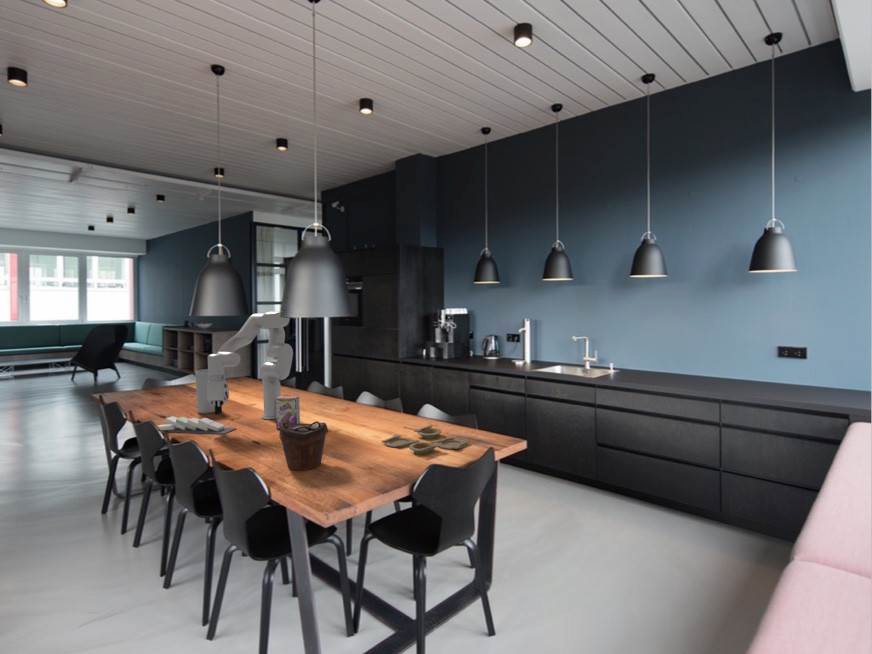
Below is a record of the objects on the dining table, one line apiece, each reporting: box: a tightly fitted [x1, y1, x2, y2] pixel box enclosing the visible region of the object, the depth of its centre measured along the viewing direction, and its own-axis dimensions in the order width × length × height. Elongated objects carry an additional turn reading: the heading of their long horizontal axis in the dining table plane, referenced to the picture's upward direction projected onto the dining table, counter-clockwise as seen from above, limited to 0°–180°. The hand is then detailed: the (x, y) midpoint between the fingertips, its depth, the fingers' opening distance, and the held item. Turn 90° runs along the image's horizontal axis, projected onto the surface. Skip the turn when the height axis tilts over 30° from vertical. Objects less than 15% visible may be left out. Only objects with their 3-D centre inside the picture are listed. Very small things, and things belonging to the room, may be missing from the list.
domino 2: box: [164, 415, 189, 430], centre depth 259 cm, size 2×5×12 cm
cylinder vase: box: [194, 368, 215, 414], centre depth 300 cm, size 12×12×25 cm
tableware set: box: [381, 424, 470, 455], centre depth 224 cm, size 35×29×4 cm
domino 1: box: [157, 423, 178, 431], centre depth 261 cm, size 2×5×12 cm
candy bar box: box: [275, 396, 301, 430], centre depth 256 cm, size 11×5×16 cm, turn 84°
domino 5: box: [198, 417, 225, 432], centre depth 255 cm, size 2×5×12 cm
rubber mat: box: [167, 427, 237, 435], centre depth 256 cm, size 33×10×1 cm, turn 77°
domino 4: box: [187, 417, 211, 431], centre depth 256 cm, size 2×5×12 cm
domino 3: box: [176, 416, 200, 431], centre depth 257 cm, size 2×5×12 cm
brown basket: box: [278, 421, 330, 472], centre depth 198 cm, size 18×20×18 cm
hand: (218, 413), depth 253 cm, fingers closed
